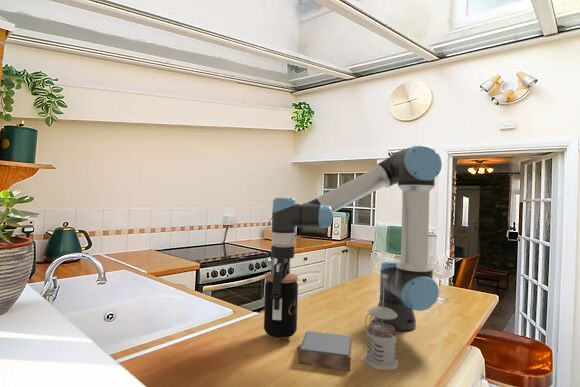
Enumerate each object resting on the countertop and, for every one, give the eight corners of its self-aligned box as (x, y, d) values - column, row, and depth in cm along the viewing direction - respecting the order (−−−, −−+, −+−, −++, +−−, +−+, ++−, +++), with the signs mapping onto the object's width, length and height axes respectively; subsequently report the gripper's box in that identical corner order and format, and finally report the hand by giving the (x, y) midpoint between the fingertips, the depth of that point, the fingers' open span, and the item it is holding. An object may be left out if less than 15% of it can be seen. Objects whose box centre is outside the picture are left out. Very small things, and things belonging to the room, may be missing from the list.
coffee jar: (293, 340, 103) (295, 281, 103) (259, 336, 105) (261, 278, 105) (299, 327, 114) (300, 273, 114) (268, 324, 116) (270, 271, 116)
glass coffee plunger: (377, 372, 90) (381, 278, 91) (352, 353, 101) (356, 269, 101) (406, 366, 94) (409, 276, 94) (379, 348, 105) (382, 267, 105)
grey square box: (350, 348, 104) (351, 335, 104) (350, 371, 90) (350, 355, 90) (305, 342, 107) (306, 330, 107) (298, 363, 93) (299, 349, 93)
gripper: (279, 240, 122) (277, 301, 121) (262, 249, 99) (259, 325, 99) (300, 241, 120) (298, 303, 120) (287, 251, 98) (285, 328, 97)
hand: (280, 313), depth 109 cm, fingers closed on coffee jar, 11 cm apart
